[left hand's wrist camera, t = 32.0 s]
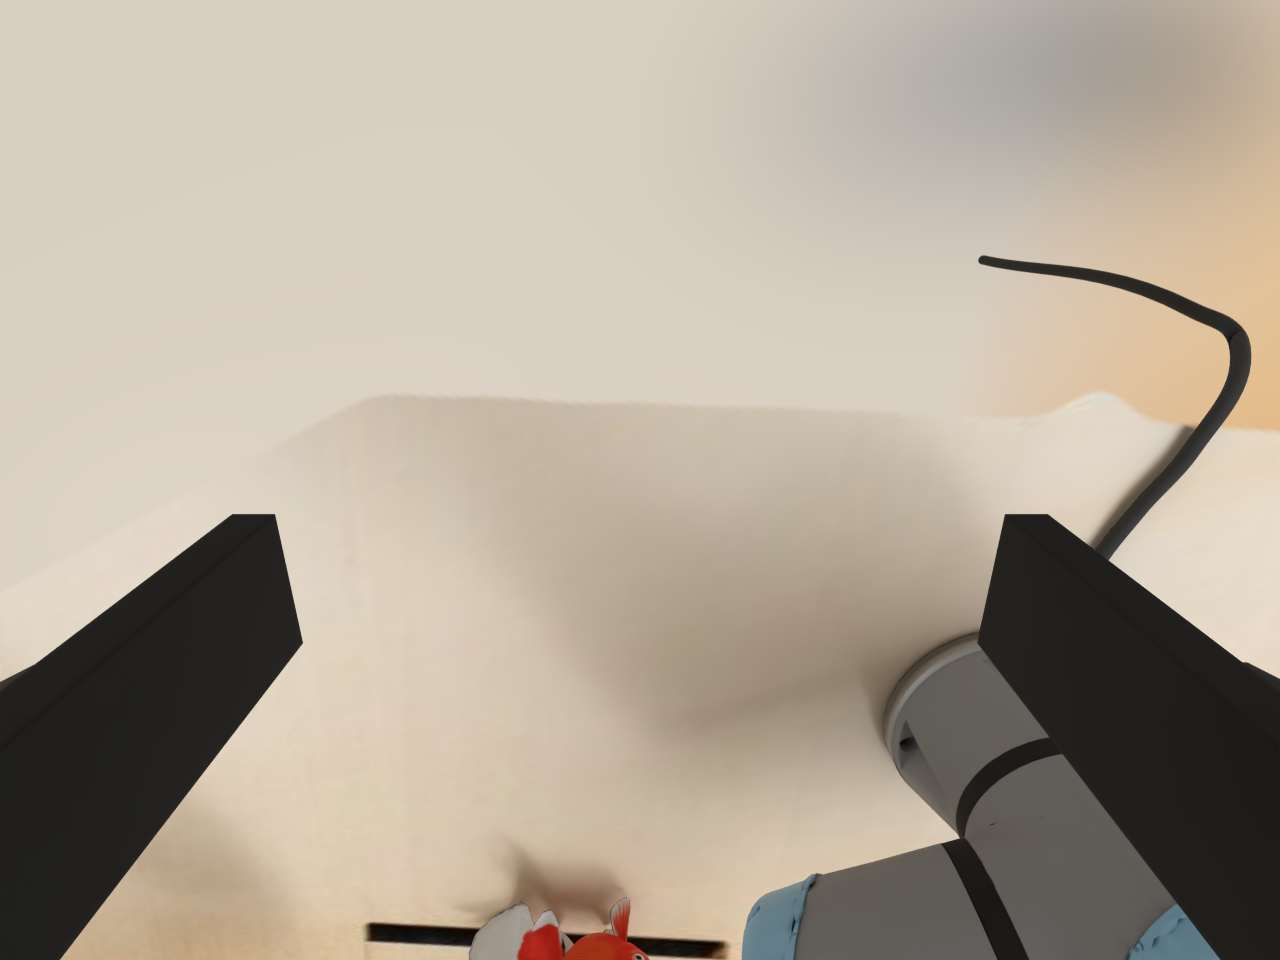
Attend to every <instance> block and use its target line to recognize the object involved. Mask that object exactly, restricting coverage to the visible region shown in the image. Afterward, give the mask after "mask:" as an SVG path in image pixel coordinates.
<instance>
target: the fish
mask: <svg viewBox="0 0 1280 960" xmlns="http://www.w3.org/2000/svg"><path fill="white" fill-rule="evenodd" d="M629 914H630V901H629V899H628V898H627V897H626V898H624V899H622V900H620V901H619V902H618V903H616V904H615V905H614V906H613V907H612V909H611V911H610V915H611V925H612V929H606V930H605V931H604V932H603V933H593V934H590V935H587V936H585V937H583V938H581V939H580V940H579V941H577V942H576V943H575V944H574V945H573V943H572V942H571V940H570V939H569V938H568V937H567V936H566V935H565V934H564V933H563V932H562V931H561V930H560V927H559V924H558V922H557V920H556V918H555V916H554V914H553V912H552V910H551V909H550V910H547V911H544V912H543V913H542V915H541V916H540V917H539V919H538V920H537V922H536V923H535V924H534V922H533V919H532V917H531V914H530V911H529V908H528V906H527V905H526V904H524V903H522V902H519V903H517V904H515V905H514V906H512V907H511V908H509V909H507V910H505V911H503V912H501V913H499V914H498V915H496V916H495V917H493V918H492V919H490V920H489V921H488V922H487V923H486V924H485V925H484V926H483V927H482V928H481V929H480V930H479V931H478V932H477V933H476V935H475V937H474V940H473V943H472V946H471V948H470V951H469V960H649V958H648V956H647V955H646V954H644V953H643V952H642V951H641V950H640V949H638V948H637V947H636V946H634V945H633V944H631V943H630V942H627V931H628V923H629ZM564 954H565V955H564Z"/></svg>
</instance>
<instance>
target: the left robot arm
mask: <svg viewBox="0 0 1280 960" xmlns="http://www.w3.org/2000/svg"><path fill="white" fill-rule="evenodd" d="M978 262H979V263H980V264H982V265H986V266H990V267H995V268H1001V269H1007V270H1014V271H1020V272H1028V273H1036V274H1044V275H1052V276H1059V277H1067V278H1073V279H1079V280H1085V281H1090V282H1095V283H1100V284H1104V285H1108V286H1112V287H1116V288H1119V289H1123V290H1126V291H1129V292H1132V293H1135V294H1138V295H1141V296H1143V297H1146V298H1148V299H1151V300H1153V301H1156V302H1158V303H1160V304H1163V305H1165V306H1167V307H1169V308H1171V309H1173V310H1175V311H1177V312H1179V313H1181V314H1183V315H1185V316H1187V317H1189V318H1191V319H1193V320H1195V321H1198V322H1200V323H1202V324H1205V325H1207V326H1210V327H1212V328H1214V329H1216V330H1218V331H1219V332H1221V333H1222V334H1223V335H1224V337H1225V338H1226V340H1227V342H1228V345H1229V349H1230V367H1229V373H1228V376H1227V380H1226V382H1225V385H1224V387H1223V389H1222V391H1221V393H1220V395H1219V397H1218V398H1217V400H1216V401H1215V403H1214V405H1213V406H1212V408H1211V409H1210V410H1209V412H1208V413H1207V415H1206V416H1205V417H1204V419H1203V420H1202V421H1201V423H1200V424H1199V425H1198V427H1197V428H1196V429H1195V431H1194V432H1193V433H1192V435H1191V436H1190V438H1189V439H1188V440H1187V442H1186V443H1185V445H1184V446H1183V447H1182V449H1181V450H1180V452H1179V453H1178V454H1177V455H1176V457H1175V458H1174V459H1173V460H1172V462H1171V463H1170V464H1169V465H1168V466H1167V467H1166V468H1165V469H1164V471H1163V472H1162V473H1161V474H1160V475H1159V476H1158V477H1157V478H1156V479H1155V480H1154V481H1153V482H1152V483H1151V484H1150V485H1149V486H1148V487H1147V488H1146V489H1145V490H1144V491H1143V492H1142V493H1141V495H1140V496H1139V497H1138V498H1137V499H1136V500H1135V501H1134V502H1133V504H1132V505H1131V506H1130V507H1129V508H1128V510H1127V511H1126V512H1125V513H1124V514H1123V516H1122V517H1121V518H1120V519H1119V521H1118V522H1117V523H1116V524H1115V525H1114V527H1113V528H1112V529H1111V530H1110V532H1109V533H1108V534H1107V535H1106V537H1105V538H1104V539H1103V541H1102V542H1101V543H1100V545H1099V546H1098V547H1097V549H1096V550H1094V549H1093V548H1091V547H1090V546H1089V545H1087V544H1086V543H1085V542H1083V541H1082V540H1081V539H1080V538H1078V537H1077V536H1076V535H1074V534H1073V533H1072V532H1070V531H1069V530H1068V529H1066V528H1065V527H1064V526H1062V525H1061V524H1060V523H1058V522H1057V521H1056V520H1055V519H1053V518H1052V517H1051V516H1049V515H1048V514H1005V517H1004V521H1003V526H1002V531H1001V535H1000V540H999V544H998V549H997V554H996V558H995V563H994V567H993V572H992V577H991V581H990V586H989V590H988V595H987V600H986V604H985V609H984V613H983V618H982V623H981V627H980V632H979V633H976V634H972V635H968V636H965V637H962V638H959V639H956V640H954V641H952V642H949V643H947V644H945V645H943V646H941V647H939V648H937V649H936V650H934V651H932V652H931V653H929V654H928V655H926V656H925V657H924V658H922V659H921V660H920V661H919V662H917V663H916V664H915V665H914V666H913V667H912V668H911V669H910V670H909V671H908V672H907V673H906V674H905V675H904V677H903V678H902V679H901V680H900V682H899V683H898V685H897V686H896V688H895V689H894V691H893V693H892V695H891V697H890V699H889V702H888V704H887V708H886V711H885V717H884V737H885V741H886V745H887V747H888V750H889V752H890V755H891V757H892V759H893V761H894V763H895V766H896V768H897V770H898V771H899V773H900V775H901V776H902V778H903V779H904V781H905V782H906V783H907V784H908V785H909V786H910V787H911V788H912V789H913V790H914V791H915V792H916V793H917V794H918V795H919V796H920V797H921V798H922V799H923V800H924V801H925V802H926V803H927V804H928V805H929V806H930V807H931V808H932V809H933V810H934V811H935V812H936V813H937V814H938V815H939V816H940V817H941V818H942V819H943V820H944V821H945V822H946V823H947V824H948V825H949V826H950V827H951V828H952V829H953V830H954V831H955V832H956V833H957V834H958V836H959V838H960V839H956V840H953V841H949V842H945V843H941V844H936V845H933V846H929V847H925V848H922V849H918V850H915V851H911V852H907V853H904V854H900V855H896V856H893V857H889V858H886V859H882V860H878V861H875V862H871V863H867V864H863V865H859V866H855V867H851V868H847V869H843V870H839V871H835V872H832V873H828V874H824V875H822V874H817V873H816V874H812V875H810V876H809V877H808V878H807V879H806V880H805V881H802V882H799V883H796V884H794V885H791V886H788V887H785V888H782V889H779V890H776V891H772V892H770V893H768V894H765V895H764V896H762V897H761V898H760V899H759V900H758V901H757V902H756V903H755V904H754V906H753V907H752V909H751V911H750V914H749V915H748V918H747V923H746V928H745V930H744V936H743V946H742V960H1280V679H1279V678H1277V677H1275V676H1273V675H1271V674H1269V673H1267V672H1265V671H1263V670H1261V669H1259V668H1257V667H1255V666H1253V665H1251V664H1249V663H1247V662H1241V661H1240V660H1238V659H1237V658H1236V657H1235V656H1233V655H1232V654H1231V653H1229V652H1228V651H1227V650H1225V649H1224V648H1223V647H1221V646H1220V645H1219V644H1217V643H1216V642H1215V641H1214V640H1212V639H1211V638H1210V637H1208V636H1207V635H1206V634H1204V633H1203V632H1202V631H1200V630H1199V629H1198V628H1196V627H1195V626H1194V625H1192V624H1191V623H1190V622H1189V621H1187V620H1186V619H1185V618H1183V617H1182V616H1181V615H1179V614H1178V613H1177V612H1175V611H1174V610H1173V609H1171V608H1170V607H1169V606H1168V605H1166V604H1165V603H1164V602H1162V601H1161V600H1160V599H1158V598H1157V597H1156V596H1154V595H1153V594H1152V593H1150V592H1149V591H1148V590H1147V589H1145V588H1144V587H1143V586H1141V585H1140V584H1139V583H1137V582H1136V581H1135V580H1133V579H1132V578H1131V577H1129V576H1128V575H1127V574H1125V573H1124V572H1123V571H1122V570H1120V569H1119V568H1118V567H1116V566H1115V565H1114V564H1112V563H1111V562H1110V561H1108V560H1109V559H1110V558H1111V556H1112V555H1113V553H1114V552H1115V551H1116V549H1117V548H1118V547H1119V546H1120V544H1121V543H1122V542H1123V541H1124V539H1125V538H1126V537H1127V536H1128V535H1129V533H1130V532H1131V531H1132V530H1133V529H1134V527H1135V526H1136V525H1137V524H1138V523H1139V521H1140V520H1141V519H1142V518H1143V517H1144V515H1145V514H1146V513H1147V512H1148V511H1149V510H1150V508H1151V507H1152V506H1153V505H1154V504H1155V503H1156V502H1157V501H1158V500H1159V499H1160V498H1161V497H1162V496H1163V495H1164V494H1165V493H1166V492H1167V491H1168V490H1169V489H1170V488H1171V487H1172V486H1173V485H1174V484H1175V483H1176V481H1177V480H1178V479H1179V478H1180V477H1181V476H1182V475H1183V474H1184V473H1185V472H1186V471H1187V469H1188V468H1189V467H1190V466H1191V465H1192V463H1193V462H1194V461H1195V460H1196V458H1197V457H1198V456H1199V454H1200V453H1201V451H1202V450H1203V449H1204V447H1205V446H1206V444H1207V443H1208V442H1209V440H1210V439H1211V438H1212V436H1213V435H1214V434H1215V433H1216V431H1217V430H1218V429H1219V427H1220V426H1221V425H1222V423H1223V422H1224V421H1225V419H1226V418H1227V417H1228V415H1229V414H1230V412H1231V411H1232V409H1233V408H1234V406H1235V405H1236V403H1237V401H1238V400H1239V398H1240V396H1241V394H1242V392H1243V390H1244V387H1245V385H1246V383H1247V379H1248V376H1249V372H1250V366H1251V346H1250V342H1249V338H1248V336H1247V333H1246V331H1245V330H1244V329H1243V327H1242V326H1241V325H1240V324H1238V323H1237V322H1236V321H1235V320H1233V319H1232V318H1230V317H1229V316H1227V315H1225V314H1223V313H1220V312H1218V311H1215V310H1213V309H1210V308H1207V307H1205V306H1202V305H1200V304H1198V303H1196V302H1194V301H1192V300H1189V299H1187V298H1185V297H1183V296H1181V295H1179V294H1176V293H1174V292H1172V291H1169V290H1167V289H1164V288H1162V287H1159V286H1156V285H1154V284H1151V283H1148V282H1145V281H1141V280H1138V279H1135V278H1131V277H1128V276H1124V275H1119V274H1115V273H1111V272H1106V271H1100V270H1094V269H1089V268H1081V267H1074V266H1065V265H1056V264H1045V263H1035V262H1025V261H1016V260H1009V259H1002V258H996V257H990V256H986V255H982V256H980V257H979V259H978ZM302 644H303V641H302V637H301V632H300V627H299V623H298V618H297V613H296V609H295V604H294V600H293V595H292V590H291V586H290V581H289V577H288V572H287V567H286V563H285V558H284V554H283V549H282V544H281V540H280V535H279V531H278V526H277V521H276V517H275V514H232V515H231V516H229V517H228V518H227V519H225V520H224V521H223V522H222V523H220V524H219V525H218V526H216V527H215V528H214V529H212V530H211V531H210V532H208V533H207V534H206V535H204V536H203V537H202V538H200V539H199V540H198V541H197V542H195V543H194V544H193V545H191V546H190V547H189V548H187V549H186V550H185V551H183V552H182V553H181V554H179V555H178V556H177V557H176V558H174V559H173V560H172V561H170V562H169V563H168V564H166V565H165V566H164V567H162V568H161V569H160V570H158V571H157V572H156V573H155V574H153V575H152V576H151V577H149V578H148V579H147V580H145V581H144V582H143V583H141V584H140V585H139V586H137V587H136V588H135V589H133V590H132V591H131V592H130V593H128V594H127V595H126V596H124V597H123V598H122V599H120V600H119V601H118V602H116V603H115V604H114V605H112V606H111V607H110V608H109V609H107V610H106V611H105V612H103V613H102V614H101V615H99V616H98V617H97V618H95V619H94V620H93V621H91V622H90V623H89V624H88V625H86V626H85V627H84V628H82V629H81V630H80V631H78V632H77V633H76V634H74V635H73V636H72V637H70V638H69V639H68V640H66V641H65V642H64V643H63V644H61V645H60V646H59V647H57V648H56V649H55V650H53V651H52V652H51V653H49V654H48V655H47V656H45V657H44V658H43V659H42V660H40V661H39V662H38V663H36V664H35V665H33V666H31V667H29V668H27V669H25V670H23V671H21V672H19V673H17V674H15V675H13V676H11V677H9V678H7V679H5V680H3V681H1V682H0V960H60V959H61V958H62V956H63V955H64V954H65V952H66V951H67V950H68V948H69V947H70V946H71V945H72V943H73V942H74V941H75V939H76V938H77V937H78V935H79V934H80V933H81V932H82V930H83V929H84V928H85V926H86V925H87V924H88V922H89V921H90V920H91V918H92V917H93V916H94V915H95V913H96V912H97V911H98V909H99V908H100V907H101V905H102V904H103V903H104V902H105V900H106V899H107V898H108V896H109V895H110V894H111V892H112V891H113V890H114V889H115V887H116V886H117V885H118V883H119V882H120V881H121V879H122V878H123V877H124V875H125V874H126V873H127V872H128V870H129V869H130V868H131V866H132V865H133V864H134V862H135V861H136V860H137V859H138V857H139V856H140V855H141V853H142V852H143V851H144V849H145V848H146V847H147V846H148V844H149V843H150V842H151V840H152V839H153V838H154V836H155V835H156V834H157V832H158V831H159V830H160V829H161V827H162V826H163V825H164V823H165V822H166V821H167V819H168V818H169V817H170V816H171V814H172V813H173V812H174V810H175V809H176V808H177V806H178V805H179V804H180V803H181V801H182V800H183V799H184V797H185V796H186V795H187V793H188V792H189V791H190V790H191V788H192V787H193V786H194V784H195V783H196V782H197V780H198V779H199V778H200V776H201V775H202V774H203V773H204V771H205V770H206V769H207V767H208V766H209V765H210V763H211V762H212V761H213V760H214V758H215V757H216V756H217V754H218V753H219V752H220V750H221V749H222V748H223V747H224V745H225V744H226V743H227V741H228V740H229V739H230V737H231V736H232V735H233V733H234V732H235V731H236V730H237V728H238V727H239V726H240V724H241V723H242V722H243V720H244V719H245V718H246V717H247V715H248V714H249V713H250V711H251V710H252V709H253V707H254V706H255V705H256V704H257V702H258V701H259V700H260V698H261V697H262V696H263V694H264V693H265V692H266V691H267V689H268V688H269V687H270V685H271V684H272V683H273V681H274V680H275V679H276V677H277V676H278V675H279V674H280V672H281V671H282V670H283V668H284V667H285V666H286V664H287V663H288V662H289V661H290V659H291V658H292V657H293V655H294V654H295V653H296V651H297V650H298V649H299V648H300V646H301V645H302Z"/></svg>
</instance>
